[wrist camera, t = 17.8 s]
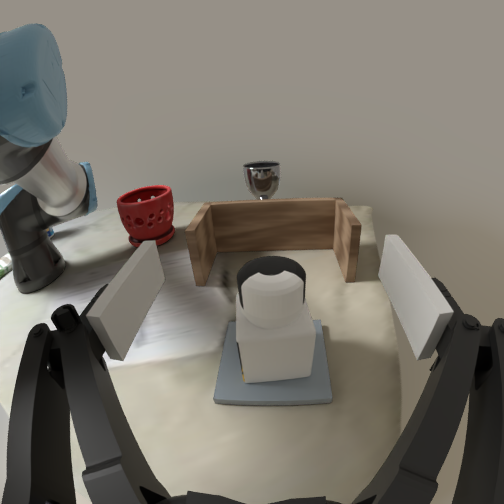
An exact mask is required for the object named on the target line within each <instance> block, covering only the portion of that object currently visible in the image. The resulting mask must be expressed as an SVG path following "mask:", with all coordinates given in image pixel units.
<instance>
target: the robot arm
mask: <svg viewBox="0 0 504 504" xmlns="http://www.w3.org/2000/svg"><path fill="white" fill-rule="evenodd" d="M66 116H67V93H66V83H65V77H64V72H63V70H62V60H61V56H60V52H59V49H58V45H57V43H56V40H55V38H54V36H53V34H52V33H51V31H50V30H49V29H48V28H47V27H45V26H44V25H42V24H27V25H24V26H22V27H19V28H16V29H14V30H11V31H9V32H2V33H0V185H5V184H10V183H13V182H14V183H16V184H15V185H14V186H12V187H11V188H9V189H7V190H6V191H5V192H3V193H2V194H0V230H1V233H2V236H3V239H4V241H5V244H6V246H7V249H8V252H9V254H10V257H11V261H12V269H13V275H14V281H15V284H16V286H17V288H18V290H19V291H20V292H22V293H29V292H33V291H36V290H38V289H41V288H43V287H44V286H46V285H48V284H49V283H51V282H52V281H54V280H55V279H56V278H57V277H58V276H59V275H60V274H61V273H62V272H63V270H64V268H65V261H64V259H63V256H62V255H61V253H60V252H59V251H58V249H57V248H56V247H55V245H54V244H53V243H52V241H51V240H50V239H49V236H48V234H47V231H46V229H48V228H50V227H53V226H56V225H58V224H61V223H64V222H67V221H70V220H72V219H75V218H78V217H81V216H86V215H88V214H89V213H91V212H94V211H95V210H96V208H97V197H96V189H95V184H94V178H93V174H92V169H91V166H90V163H88V162H84V163H79V164H77V163H76V162H74V161H72V160H69V159H68V157H67V155H66V153H65V152H64V150H63V148H62V146H61V144H60V142H59V140H58V138H57V135H58V134H59V133H60V132H61V130H62V128H63V127H64V125H65V122H66ZM378 277H379V278H380V280H381V282H382V284H383V286H384V288H385V290H386V292H387V294H388V296H389V298H390V300H391V303H392V305H393V307H394V309H395V311H396V313H397V315H398V317H399V319H400V322H401V324H402V326H403V328H404V331H405V333H406V335H407V338H408V340H409V342H410V345H411V347H412V349H413V352H414V354H415V357H416V359H417V360H421V359H426V358H431V356H432V354H433V352H434V351H435V349H436V350H437V352H438V357H437V358H436V360H435V362H434V364H433V365H432V367H431V369H430V371H431V374H430V376H429V378H428V381H427V383H426V386H425V388H424V390H423V393H422V395H421V397H420V399H419V401H418V403H417V406H416V407H415V410H414V412H413V414H412V416H411V418H410V419H409V421H408V424H407V425H406V427H405V429H404V431H403V433H402V434H401V436H400V438H399V440H398V441H397V443H396V445H395V446H394V448H393V450H392V451H391V453H390V455H389V456H388V458H387V459H386V461H385V462H384V464H383V465H382V467H381V468H380V470H379V471H378V473H377V474H376V476H375V477H374V478H373V480H372V481H371V482H370V484H369V485H368V486H367V487H366V488H365V489H364V490H363V491H362V492H361V493H360V494H359V495H358V497H357V498H356V499H355V500H354V501H353V502H352V504H430V502H431V501H432V498H433V497H434V495H435V493H436V491H437V488H438V483H437V482H436V478H437V476H438V473H439V471H440V469H441V467H442V465H443V463H444V461H445V459H446V456H447V454H448V452H449V449H450V447H451V445H452V442H453V440H454V437H455V435H456V432H457V429H458V426H459V423H460V421H461V417H462V415H463V412H464V408H465V405H466V402H467V398H468V395H469V394H470V395H469V413H468V424H467V433H466V441H465V447H464V454H463V459H462V465H461V470H460V474H459V479H458V483H457V486H456V490H455V494H454V497H453V501H452V504H504V319H502V318H498V319H496V320H495V321H494V323H493V325H492V326H491V327H490V326H482V325H481V324H480V322H479V321H478V320H477V319H476V318H475V317H473V316H472V315H468V314H464V313H463V312H462V310H461V309H460V307H459V306H458V305H457V303H456V301H455V300H454V298H453V297H451V294H450V293H449V292H448V290H447V289H446V287H445V286H444V285H443V283H442V282H440V281H439V280H438V279H436V278H430V276H429V275H428V273H427V272H426V271H425V269H424V268H423V267H422V265H421V264H420V263H419V262H418V260H417V259H416V257H415V256H414V255H413V254H412V252H411V251H410V250H409V248H408V247H407V246H406V245H405V243H404V242H403V241H402V240H401V239H400V237H399V236H398V235H386V236H385V243H384V248H383V254H382V259H381V264H380V269H379V274H378ZM164 281H165V276H164V273H163V269H162V265H161V262H160V258H159V254H158V250H157V246H156V242H155V240H153V241H143V243H142V244H141V245H140V246H139V247H138V249H137V250H136V251H135V252H134V253H133V255H132V256H131V257H130V258H129V259H128V261H127V262H126V263H125V264H124V266H123V267H122V268H121V269H120V271H119V272H118V273H117V274H116V276H115V277H114V278H113V280H112V281H111V282H110V283H109V284H106V285H105V286H103V287H102V288H101V289H100V290H99V291H98V292H97V293H96V295H95V297H93V299H92V300H91V302H90V303H89V304H88V305H87V307H86V308H85V309H84V311H83V312H82V313H81V315H80V316H79V315H78V313H77V311H76V309H75V307H74V306H73V305H71V304H66V305H62V306H61V307H59V308H57V309H56V310H55V311H54V312H53V314H52V316H51V320H52V321H53V323H54V325H55V326H56V328H57V330H54V331H50V329H49V327H48V326H47V324H45V323H40V324H37V325H35V326H34V327H33V328H32V329H31V330H30V332H29V334H28V337H27V341H26V344H25V347H24V351H23V355H22V358H21V362H20V366H19V370H18V375H17V379H16V384H15V389H14V394H13V400H12V406H11V413H10V421H9V431H8V442H7V479H6V484H5V488H4V493H3V498H2V504H76V497H75V488H74V481H73V472H72V461H71V446H70V412H71V416H72V420H73V424H74V428H75V432H76V435H77V439H78V442H79V446H80V449H81V452H82V455H83V458H84V461H85V464H86V470H84V471H83V472H82V478H83V482H84V484H85V487H86V489H87V492H88V494H89V497H90V499H91V501H92V504H245V503H242V502H238V501H235V500H232V499H229V498H226V497H223V496H219V495H211V494H204V493H198V492H192V491H188V492H187V495H181V496H175V497H171V496H170V495H169V493H168V492H167V490H166V489H165V488H164V487H163V485H162V484H161V483H160V482H159V481H158V480H157V479H156V477H155V476H154V474H153V472H152V470H151V469H150V467H149V465H148V463H147V461H146V459H145V457H144V455H143V454H142V452H141V450H140V448H139V446H138V443H137V441H136V439H135V437H134V435H133V433H132V431H131V428H130V426H129V424H128V422H127V419H126V417H125V415H124V412H123V410H122V407H121V405H120V402H119V400H118V397H117V394H116V392H115V389H114V386H113V383H112V380H111V378H110V375H109V372H108V369H107V365H106V362H105V360H104V358H103V357H102V356H103V354H104V352H105V351H106V352H107V354H108V356H109V357H110V359H115V360H120V361H124V358H125V356H126V354H127V352H128V350H129V348H130V346H131V344H132V342H133V340H134V338H135V336H136V334H137V332H138V330H139V328H140V326H141V324H142V322H143V320H144V318H145V317H146V315H147V313H148V311H149V309H150V307H151V305H152V303H153V301H154V300H155V298H156V296H157V294H158V292H159V290H160V288H161V287H162V285H163V283H164ZM47 366H48V368H47ZM270 504H341V503H338V502H334V501H329V500H326V496H323V497H312V498H296V499H288V500H284V501H279V502H275V503H270Z"/></svg>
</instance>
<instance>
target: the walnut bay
mask: <svg viewBox="0 0 504 504" xmlns="http://www.w3.org/2000/svg"><path fill="white" fill-rule="evenodd" d="M185 234H186V240H187V245H188V250H189V255H190V259H191V264H192V269H193V273H194V278H195V283H196V286H205V284H206V281H207V279H208V276H209V273H210V271H211V268H212V265H213V262H214V260H215V257H216V254H217V252H241V251H274V250H307V249H333V250H334V252H335V255H336V258H337V260H338V263H339V266H340V268H341V271H342V274H343V276H344V279H345V282H354V281H355V274H356V267H357V260H358V252H359V244H360V235H361V224H360V222H359V221H358V219H357V218H356V217H355V215H354V214H353V212H352V211H351V210H350V208H349V207H348V206H347V204H346V203H345V202H344V200H343V199H342V198H292V199H291V198H290V199H262V200H243V201H224V202H209V203H204V204H203V206H202V207H201V209H200V210H199V211H198V213H197V214H196V216H195V217H194V218H193V220H192V221H191V223H190V224H189V226H188V227H187V229H186V230H185Z"/></svg>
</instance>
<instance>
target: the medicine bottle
mask: <svg viewBox="0 0 504 504" xmlns="http://www.w3.org/2000/svg"><path fill="white" fill-rule="evenodd" d="M237 284H238V292H239V293H238V294H237V295H236V342H237V348H238V354H239V359H240V365H241V371H242V376H243V381H244V382H245V383H257V382H268V381H278V380H287V379H295V378H302V377H308V376H310V375H311V369H312V362H313V354H314V346H315V338H316V330H315V326H314V323H313V320H312V317H311V314H310V311H309V308H308V305H307V302H306V299H305V284H306V273H305V271H304V269H303V268H302V266H301V265H300V264H298V263H297V262H296V261H294V260H292V259H289V258H286V257H280V256H266V257H260V258H257V259H254V260H251V261H249V262H248V263H246V264H245V265H244V266H243V267H242V268H241V269H240V271H239V272H238V274H237Z"/></svg>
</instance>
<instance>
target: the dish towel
mask: <svg viewBox="0 0 504 504" xmlns="http://www.w3.org/2000/svg"><path fill="white" fill-rule="evenodd" d="M11 270H12V261H11V257H10V254H9V253H7V254H6V255H5V256H4V257H2V258H1V259H0V278H2V277H3V276H4V275H5V274H7V273H8V272H9V271H11Z"/></svg>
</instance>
